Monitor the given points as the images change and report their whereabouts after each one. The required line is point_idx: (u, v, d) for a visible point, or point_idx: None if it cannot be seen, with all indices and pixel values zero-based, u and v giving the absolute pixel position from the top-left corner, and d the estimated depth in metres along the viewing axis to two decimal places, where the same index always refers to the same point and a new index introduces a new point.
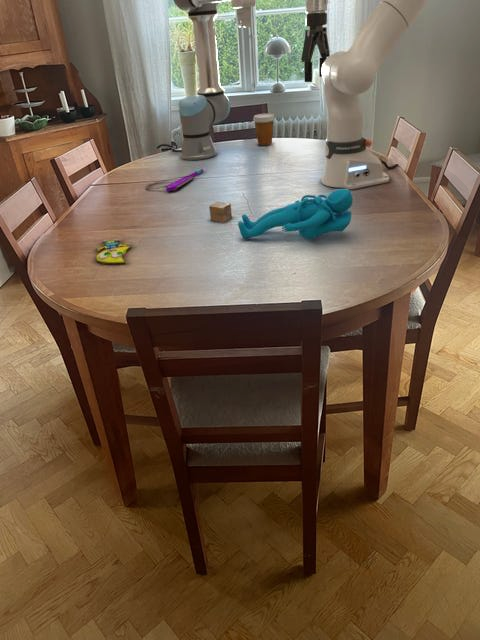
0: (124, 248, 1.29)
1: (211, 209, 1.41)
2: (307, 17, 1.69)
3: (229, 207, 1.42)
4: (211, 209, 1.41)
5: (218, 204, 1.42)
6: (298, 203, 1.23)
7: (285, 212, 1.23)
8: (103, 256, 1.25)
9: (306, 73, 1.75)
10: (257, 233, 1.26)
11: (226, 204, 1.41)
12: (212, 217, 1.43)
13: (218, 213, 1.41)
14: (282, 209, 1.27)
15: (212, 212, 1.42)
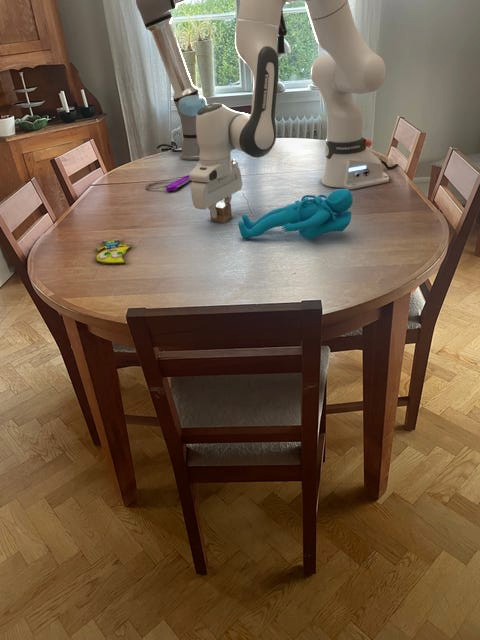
0: (124, 248, 1.29)
1: None
2: None
3: (230, 207, 1.42)
4: None
5: (218, 204, 1.42)
6: (298, 203, 1.23)
7: (285, 212, 1.23)
8: (103, 256, 1.25)
9: None
10: (257, 233, 1.26)
11: (226, 204, 1.41)
12: None
13: None
14: (282, 209, 1.27)
15: None
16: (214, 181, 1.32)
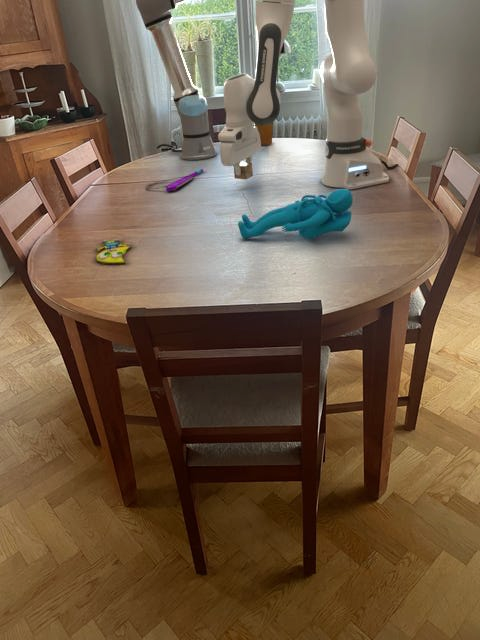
0: (124, 248, 1.29)
1: None
2: None
3: (251, 166, 1.63)
4: None
5: (241, 163, 1.63)
6: (298, 203, 1.23)
7: (285, 212, 1.23)
8: (103, 256, 1.25)
9: None
10: (257, 233, 1.26)
11: (248, 163, 1.63)
12: (236, 175, 1.64)
13: None
14: (282, 209, 1.27)
15: None
16: (239, 141, 1.53)
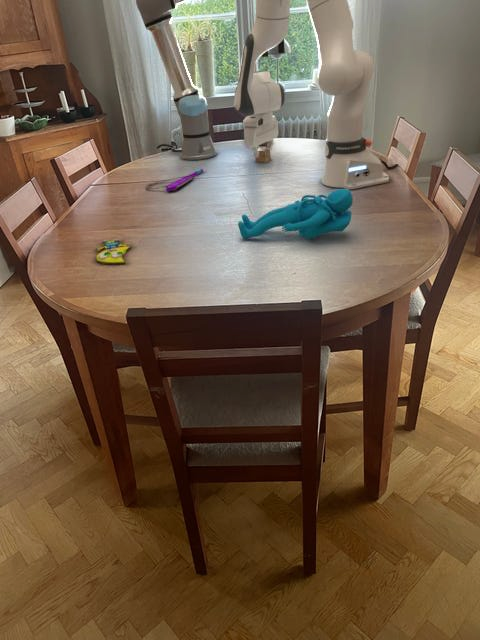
0: (124, 248, 1.29)
1: None
2: None
3: (269, 151, 1.93)
4: None
5: (261, 149, 1.93)
6: (298, 203, 1.23)
7: (285, 212, 1.23)
8: (103, 256, 1.25)
9: None
10: (257, 233, 1.26)
11: (267, 149, 1.92)
12: (256, 159, 1.94)
13: (261, 156, 1.92)
14: (282, 209, 1.27)
15: None
16: (261, 126, 1.82)
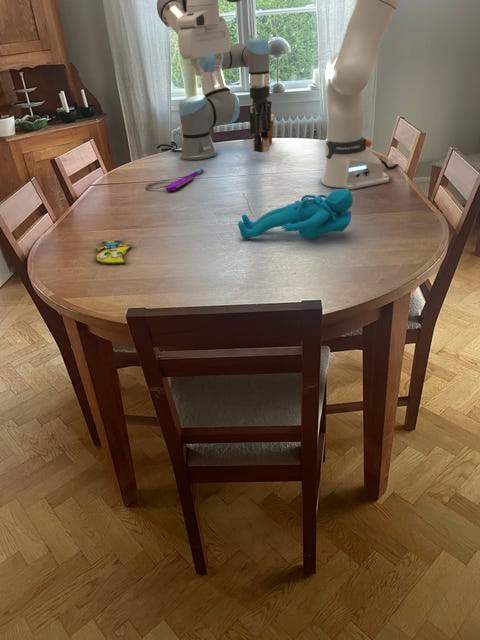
0: (124, 248, 1.29)
1: (254, 142, 1.90)
2: None
3: (268, 141, 1.91)
4: None
5: None
6: (298, 203, 1.23)
7: (285, 212, 1.23)
8: (103, 256, 1.25)
9: None
10: (257, 233, 1.26)
11: (266, 138, 1.90)
12: None
13: None
14: (282, 209, 1.27)
15: None
16: (201, 28, 1.31)
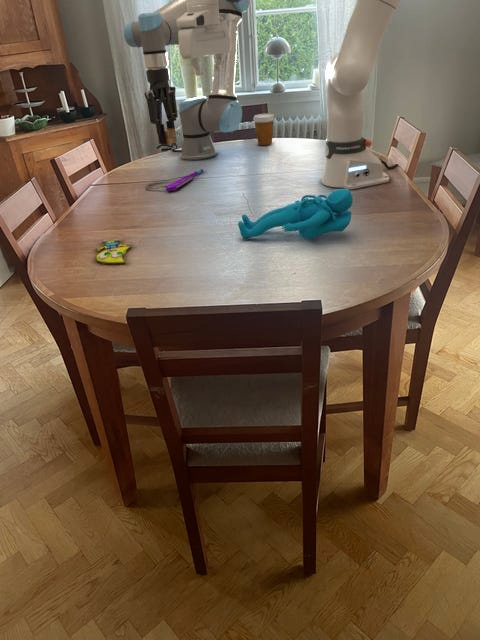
0: (124, 248, 1.29)
1: None
2: None
3: (174, 131, 1.68)
4: None
5: None
6: (298, 203, 1.23)
7: (285, 212, 1.23)
8: (103, 256, 1.25)
9: None
10: (257, 233, 1.26)
11: (171, 129, 1.68)
12: None
13: None
14: (282, 209, 1.27)
15: None
16: (201, 28, 1.31)
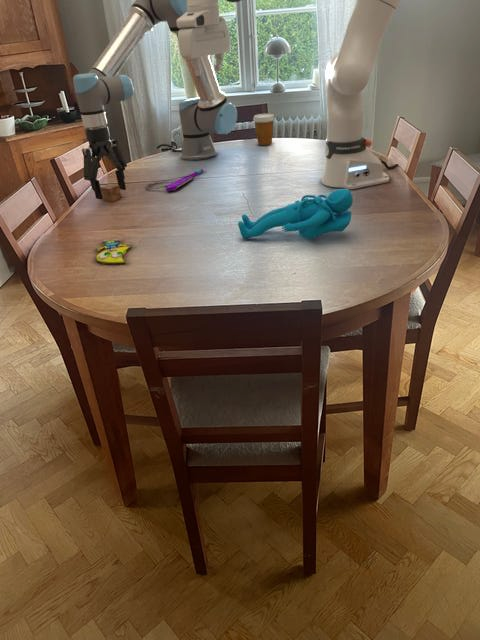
0: (124, 248, 1.29)
1: (102, 190, 1.66)
2: (108, 129, 1.57)
3: (118, 188, 1.67)
4: (102, 190, 1.66)
5: (108, 185, 1.67)
6: (298, 203, 1.23)
7: (285, 212, 1.23)
8: (103, 256, 1.25)
9: None
10: (257, 233, 1.26)
11: (115, 185, 1.66)
12: (104, 197, 1.67)
13: (107, 193, 1.65)
14: (282, 209, 1.27)
15: (103, 192, 1.66)
16: (201, 28, 1.31)
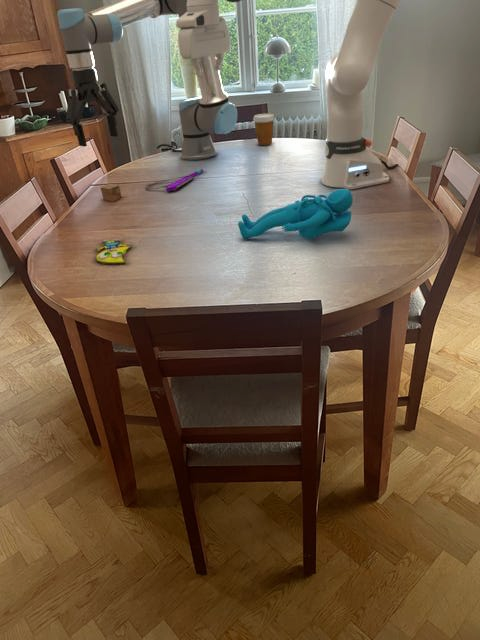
0: (124, 248, 1.29)
1: (102, 190, 1.66)
2: None
3: (118, 188, 1.67)
4: (102, 190, 1.66)
5: (108, 185, 1.67)
6: (298, 203, 1.23)
7: (285, 212, 1.23)
8: (103, 256, 1.25)
9: None
10: (257, 233, 1.26)
11: (115, 185, 1.66)
12: (104, 197, 1.67)
13: (107, 193, 1.65)
14: (282, 209, 1.27)
15: (103, 192, 1.66)
16: (201, 28, 1.31)
